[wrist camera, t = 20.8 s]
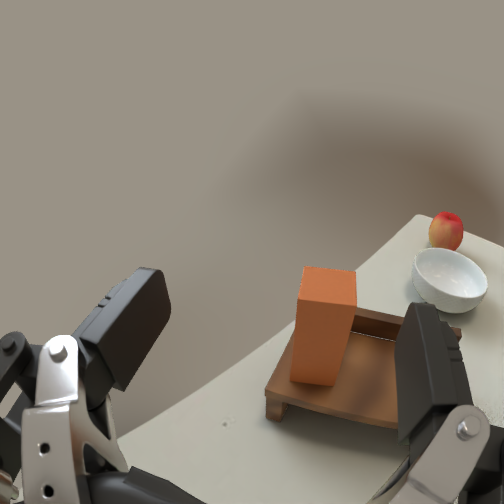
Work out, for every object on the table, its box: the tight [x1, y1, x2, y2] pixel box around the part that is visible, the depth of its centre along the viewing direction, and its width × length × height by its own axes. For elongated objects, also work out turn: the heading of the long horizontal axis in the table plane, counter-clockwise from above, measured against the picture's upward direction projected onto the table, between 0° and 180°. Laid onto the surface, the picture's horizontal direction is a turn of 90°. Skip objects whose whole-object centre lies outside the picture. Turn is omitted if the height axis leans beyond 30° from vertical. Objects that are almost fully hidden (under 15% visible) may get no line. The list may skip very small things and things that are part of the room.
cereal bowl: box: [412, 248, 488, 313], centre depth 50 cm, size 17×17×7 cm
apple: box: [429, 212, 463, 251], centre depth 65 cm, size 10×10×10 cm
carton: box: [289, 266, 357, 386], centre depth 29 cm, size 5×5×12 cm
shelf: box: [265, 307, 462, 429], centre depth 33 cm, size 22×14×11 cm, turn 66°
